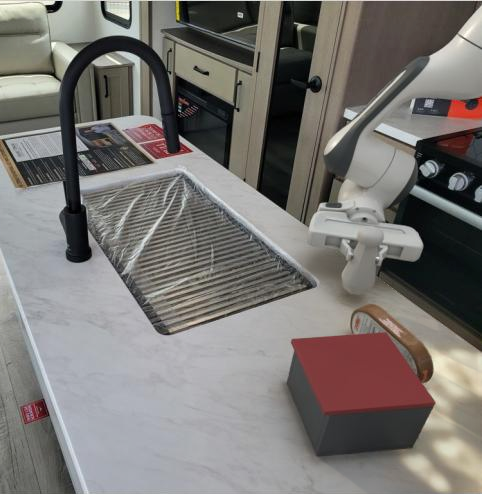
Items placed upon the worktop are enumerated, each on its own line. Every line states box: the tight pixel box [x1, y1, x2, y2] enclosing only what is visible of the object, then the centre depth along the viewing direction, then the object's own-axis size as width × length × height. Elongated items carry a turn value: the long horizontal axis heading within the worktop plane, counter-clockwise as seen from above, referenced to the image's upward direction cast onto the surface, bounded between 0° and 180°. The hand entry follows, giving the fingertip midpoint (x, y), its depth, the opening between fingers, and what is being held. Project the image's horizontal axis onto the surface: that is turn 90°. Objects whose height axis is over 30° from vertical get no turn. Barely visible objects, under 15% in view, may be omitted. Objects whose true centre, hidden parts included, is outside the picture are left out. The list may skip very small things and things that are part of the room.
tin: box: [349, 303, 435, 384], centre depth 76 cm, size 15×3×8 cm, turn 22°
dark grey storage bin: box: [286, 350, 434, 457], centre depth 67 cm, size 14×13×9 cm
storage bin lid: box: [290, 332, 437, 416], centre depth 65 cm, size 14×13×1 cm
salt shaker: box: [341, 226, 384, 296], centre depth 86 cm, size 6×6×13 cm
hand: (364, 260), depth 85 cm, fingers closed on salt shaker, 3 cm apart
